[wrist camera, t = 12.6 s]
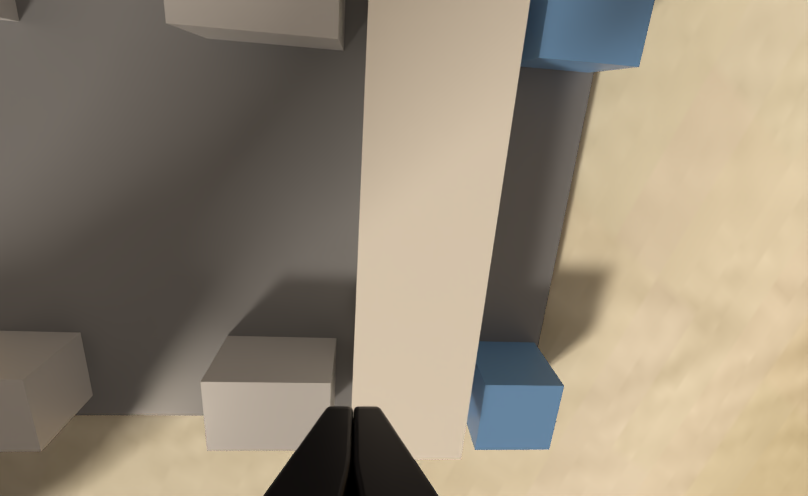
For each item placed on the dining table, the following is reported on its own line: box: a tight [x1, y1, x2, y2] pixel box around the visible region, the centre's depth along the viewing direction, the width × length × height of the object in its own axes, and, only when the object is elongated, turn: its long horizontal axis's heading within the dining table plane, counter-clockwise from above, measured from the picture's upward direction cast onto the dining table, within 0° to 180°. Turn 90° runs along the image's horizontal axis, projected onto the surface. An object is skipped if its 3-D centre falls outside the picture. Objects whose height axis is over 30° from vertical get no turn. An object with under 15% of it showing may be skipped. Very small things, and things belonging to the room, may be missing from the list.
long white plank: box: [352, 0, 530, 460], centre depth 14 cm, size 16×4×4 cm, turn 176°
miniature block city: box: [0, 0, 655, 452], centre depth 15 cm, size 19×22×4 cm
